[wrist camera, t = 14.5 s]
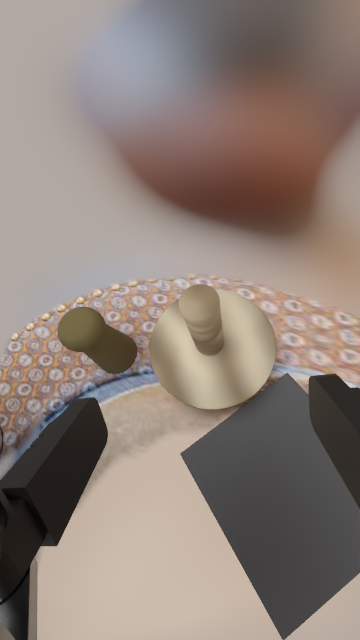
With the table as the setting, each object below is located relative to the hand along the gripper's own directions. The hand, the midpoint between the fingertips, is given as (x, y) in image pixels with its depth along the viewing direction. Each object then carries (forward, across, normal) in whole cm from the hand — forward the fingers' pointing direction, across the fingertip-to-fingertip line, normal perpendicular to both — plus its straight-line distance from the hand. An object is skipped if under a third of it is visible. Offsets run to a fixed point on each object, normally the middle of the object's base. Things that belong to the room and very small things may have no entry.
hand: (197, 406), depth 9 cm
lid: (+18, 0, +6) cm, 18 cm away
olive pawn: (+23, +14, +8) cm, 28 cm away
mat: (+11, -6, +19) cm, 23 cm away
